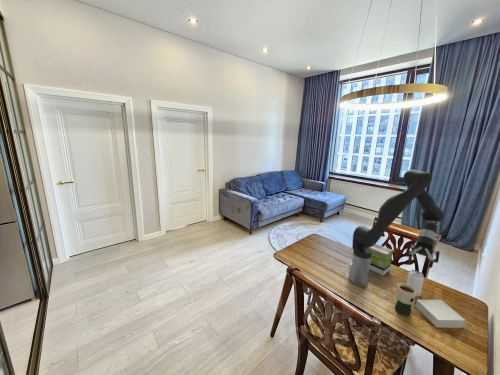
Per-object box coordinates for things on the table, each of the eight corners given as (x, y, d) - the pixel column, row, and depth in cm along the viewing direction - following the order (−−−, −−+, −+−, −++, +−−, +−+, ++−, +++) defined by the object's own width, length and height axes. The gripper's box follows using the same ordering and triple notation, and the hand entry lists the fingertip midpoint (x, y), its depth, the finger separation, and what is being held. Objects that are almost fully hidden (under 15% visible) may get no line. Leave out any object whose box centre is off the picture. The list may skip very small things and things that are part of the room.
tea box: (358, 265, 140) (361, 244, 137) (365, 260, 146) (368, 240, 143) (383, 276, 129) (387, 254, 125) (390, 270, 135) (393, 249, 131)
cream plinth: (436, 327, 93) (438, 319, 93) (415, 306, 105) (417, 299, 104) (463, 327, 93) (465, 320, 93) (439, 306, 105) (441, 300, 104)
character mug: (408, 322, 96) (413, 298, 93) (390, 313, 101) (394, 289, 98) (414, 310, 103) (418, 286, 100) (396, 302, 108) (400, 279, 105)
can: (423, 297, 111) (427, 277, 109) (409, 296, 112) (413, 276, 110) (416, 289, 117) (420, 270, 115) (403, 287, 119) (406, 268, 116)
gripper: (411, 232, 125) (403, 257, 120) (443, 240, 116) (436, 267, 110) (411, 237, 130) (404, 261, 125) (441, 245, 120) (435, 272, 115)
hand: (419, 264), depth 117 cm, fingers open, 8 cm apart
